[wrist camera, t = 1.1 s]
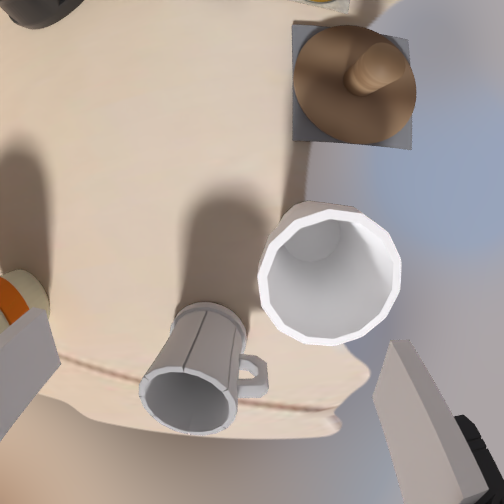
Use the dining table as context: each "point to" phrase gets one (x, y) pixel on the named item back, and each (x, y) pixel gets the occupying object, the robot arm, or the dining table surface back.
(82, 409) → the dining table surface
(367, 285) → the foam cup
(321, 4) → the condiment
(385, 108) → the lid
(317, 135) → the mat
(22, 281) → the reusable coffee cup
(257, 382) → the cup
